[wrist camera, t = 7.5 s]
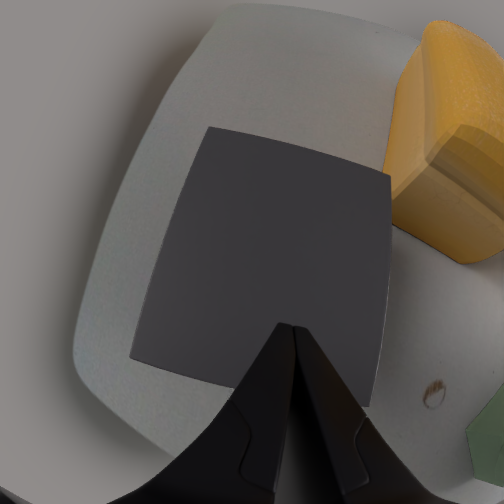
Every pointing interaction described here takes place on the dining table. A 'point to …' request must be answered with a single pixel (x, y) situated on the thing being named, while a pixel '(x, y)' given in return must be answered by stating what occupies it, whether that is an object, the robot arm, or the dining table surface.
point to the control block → (488, 441)
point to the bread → (450, 145)
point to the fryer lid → (270, 262)
